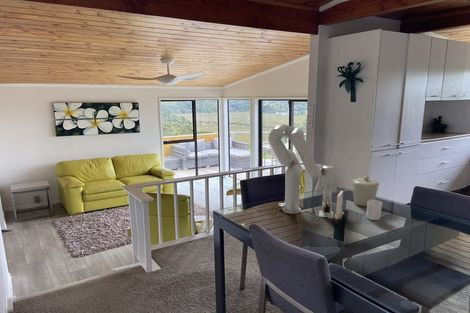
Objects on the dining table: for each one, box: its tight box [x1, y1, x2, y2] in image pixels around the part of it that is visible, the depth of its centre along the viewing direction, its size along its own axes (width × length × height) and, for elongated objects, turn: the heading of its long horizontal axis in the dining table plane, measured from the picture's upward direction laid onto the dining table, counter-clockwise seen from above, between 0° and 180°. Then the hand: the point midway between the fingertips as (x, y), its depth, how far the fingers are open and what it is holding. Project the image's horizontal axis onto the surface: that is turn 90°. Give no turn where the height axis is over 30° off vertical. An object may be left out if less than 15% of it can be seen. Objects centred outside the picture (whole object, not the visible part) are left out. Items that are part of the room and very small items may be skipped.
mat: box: [318, 209, 334, 219], centre depth 223 cm, size 9×9×1 cm
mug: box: [365, 199, 383, 221], centre depth 218 cm, size 12×9×11 cm
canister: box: [351, 175, 380, 208], centre depth 238 cm, size 18×18×21 cm
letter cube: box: [321, 200, 333, 214], centre depth 221 cm, size 6×6×6 cm
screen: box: [332, 190, 345, 220], centre depth 219 cm, size 4×11×16 cm, turn 150°
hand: (326, 209), depth 222 cm, fingers closed on letter cube, 6 cm apart
